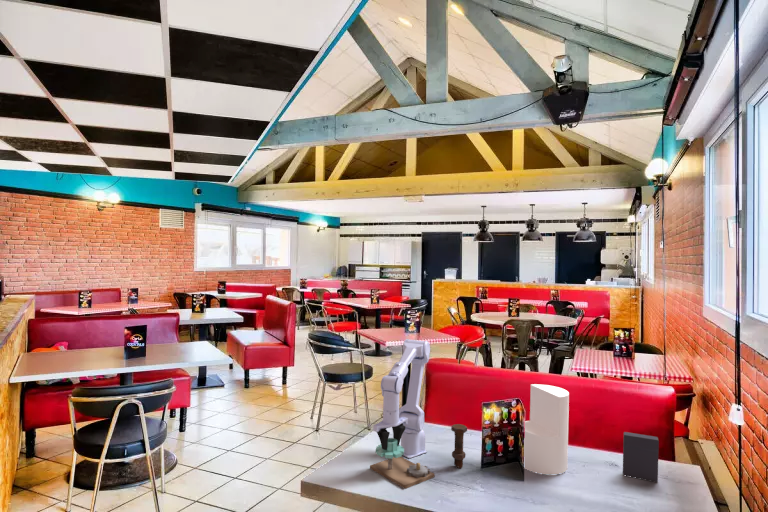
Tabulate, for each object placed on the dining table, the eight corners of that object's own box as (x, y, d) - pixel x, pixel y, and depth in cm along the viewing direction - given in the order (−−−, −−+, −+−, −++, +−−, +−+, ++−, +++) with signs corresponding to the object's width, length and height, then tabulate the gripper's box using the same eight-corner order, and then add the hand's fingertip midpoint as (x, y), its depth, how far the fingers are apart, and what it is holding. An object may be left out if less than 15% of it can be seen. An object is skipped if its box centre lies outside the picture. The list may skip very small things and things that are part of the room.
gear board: (399, 458, 185) (399, 445, 185) (434, 477, 170) (434, 462, 170) (370, 468, 176) (370, 454, 176) (404, 488, 161) (405, 473, 161)
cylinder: (547, 453, 193) (549, 383, 193) (577, 471, 177) (579, 395, 176) (510, 458, 188) (511, 386, 187) (537, 478, 171) (539, 399, 171)
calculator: (656, 478, 173) (657, 436, 173) (657, 483, 169) (658, 440, 169) (622, 471, 178) (623, 430, 177) (622, 476, 174) (623, 434, 174)
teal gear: (391, 444, 181) (391, 433, 181) (409, 453, 173) (409, 442, 173) (370, 450, 174) (370, 439, 174) (388, 460, 167) (388, 448, 167)
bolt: (465, 464, 181) (466, 424, 181) (466, 470, 176) (467, 429, 176) (450, 463, 182) (451, 423, 182) (450, 469, 177) (451, 428, 177)
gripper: (399, 402, 181) (398, 439, 181) (368, 410, 172) (367, 448, 172) (411, 407, 176) (411, 445, 176) (380, 415, 166) (380, 455, 167)
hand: (390, 447), depth 173 cm, fingers closed on teal gear, 5 cm apart
